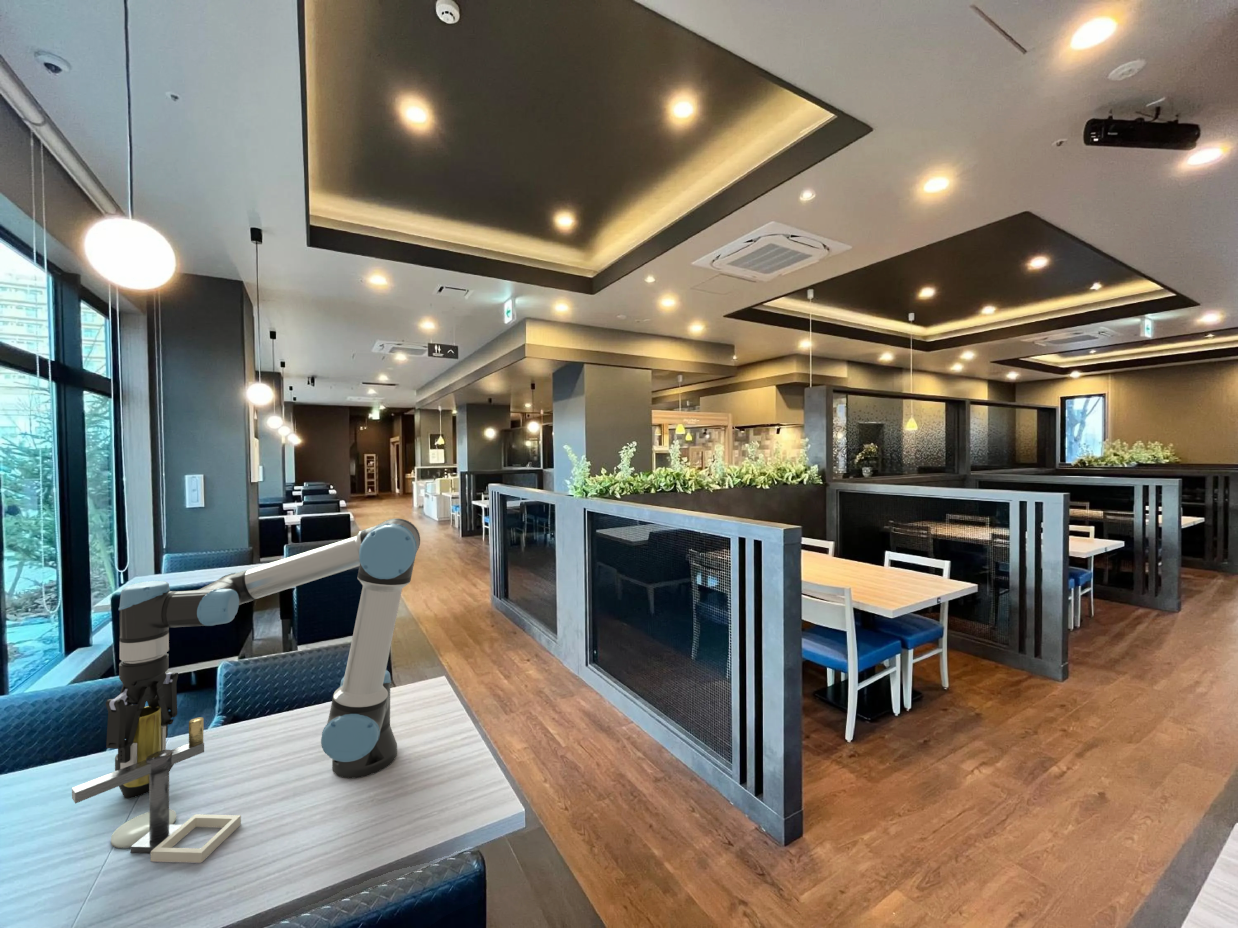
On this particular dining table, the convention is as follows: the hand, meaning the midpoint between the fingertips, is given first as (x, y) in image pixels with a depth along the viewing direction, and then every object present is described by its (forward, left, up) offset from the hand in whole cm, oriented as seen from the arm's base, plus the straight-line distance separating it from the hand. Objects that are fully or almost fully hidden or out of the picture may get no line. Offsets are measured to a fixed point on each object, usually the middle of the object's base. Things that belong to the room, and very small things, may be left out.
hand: (143, 764), depth 104 cm
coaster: (0, 0, -14) cm, 14 cm away
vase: (0, 0, -3) cm, 3 cm away
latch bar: (-5, +5, +2) cm, 7 cm away
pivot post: (-6, +3, -14) cm, 15 cm away
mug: (+11, -12, -14) cm, 22 cm away
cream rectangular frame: (-14, +3, -14) cm, 20 cm away
